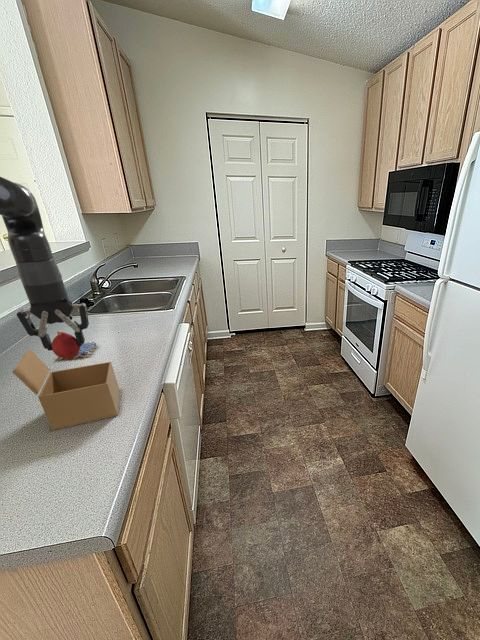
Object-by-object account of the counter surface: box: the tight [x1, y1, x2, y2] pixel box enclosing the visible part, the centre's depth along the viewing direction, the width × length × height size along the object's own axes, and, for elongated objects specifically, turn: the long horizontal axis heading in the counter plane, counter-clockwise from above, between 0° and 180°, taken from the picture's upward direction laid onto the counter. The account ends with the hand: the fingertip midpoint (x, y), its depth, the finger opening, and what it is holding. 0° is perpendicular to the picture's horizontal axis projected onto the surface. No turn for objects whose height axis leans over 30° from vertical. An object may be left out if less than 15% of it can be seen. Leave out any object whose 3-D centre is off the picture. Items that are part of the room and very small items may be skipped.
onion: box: [51, 330, 80, 361], centre depth 83 cm, size 6×6×8 cm
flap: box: [11, 348, 51, 396], centre depth 83 cm, size 7×14×1 cm
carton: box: [37, 361, 121, 431], centre depth 90 cm, size 15×14×10 cm
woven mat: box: [58, 341, 98, 360], centre depth 125 cm, size 10×11×2 cm
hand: (66, 346), depth 83 cm, fingers closed on onion, 6 cm apart
